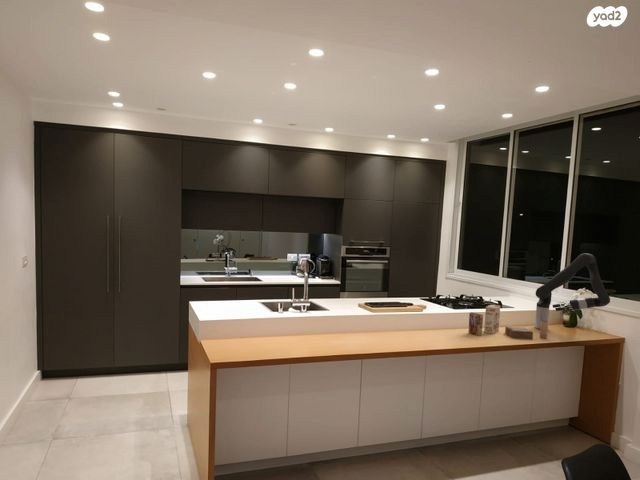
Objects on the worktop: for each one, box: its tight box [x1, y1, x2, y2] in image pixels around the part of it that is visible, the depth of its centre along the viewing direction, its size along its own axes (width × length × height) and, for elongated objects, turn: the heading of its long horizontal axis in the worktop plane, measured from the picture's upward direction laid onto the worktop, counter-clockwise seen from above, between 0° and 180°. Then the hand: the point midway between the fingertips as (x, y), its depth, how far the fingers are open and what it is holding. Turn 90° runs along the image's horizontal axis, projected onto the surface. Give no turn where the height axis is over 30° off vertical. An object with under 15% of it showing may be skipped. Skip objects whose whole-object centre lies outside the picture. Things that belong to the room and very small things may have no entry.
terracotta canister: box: [539, 320, 549, 339], centre depth 326 cm, size 5×5×13 cm
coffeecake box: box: [483, 304, 501, 335], centre depth 336 cm, size 15×7×20 cm, turn 143°
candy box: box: [467, 312, 484, 337], centre depth 325 cm, size 9×4×15 cm, turn 39°
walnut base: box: [504, 326, 534, 340], centre depth 326 cm, size 14×14×5 cm
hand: (554, 307), depth 328 cm, fingers open, 8 cm apart
